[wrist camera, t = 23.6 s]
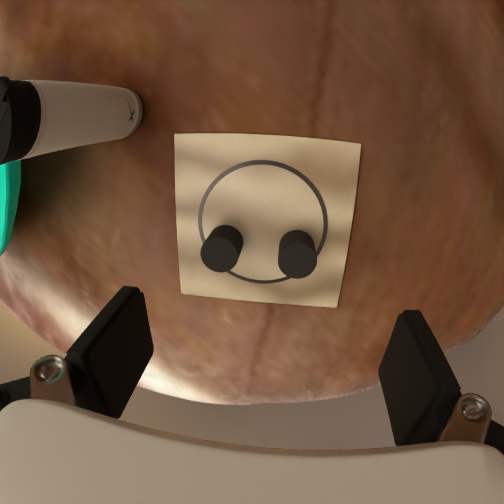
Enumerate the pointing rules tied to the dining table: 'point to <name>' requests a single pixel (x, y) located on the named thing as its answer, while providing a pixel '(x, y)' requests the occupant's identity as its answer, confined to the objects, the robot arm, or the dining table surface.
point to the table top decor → (8, 200)
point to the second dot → (297, 254)
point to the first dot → (222, 248)
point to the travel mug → (62, 116)
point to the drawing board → (264, 212)
